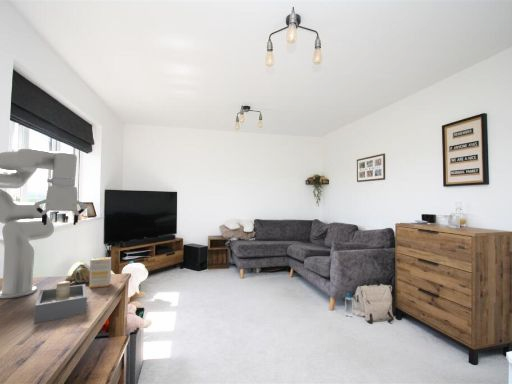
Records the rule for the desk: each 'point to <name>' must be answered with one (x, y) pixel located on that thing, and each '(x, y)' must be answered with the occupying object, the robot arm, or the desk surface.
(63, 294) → the peg
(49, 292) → the bore box
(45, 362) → the desk surface
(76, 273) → the ceramic sculpture
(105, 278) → the supplement box
